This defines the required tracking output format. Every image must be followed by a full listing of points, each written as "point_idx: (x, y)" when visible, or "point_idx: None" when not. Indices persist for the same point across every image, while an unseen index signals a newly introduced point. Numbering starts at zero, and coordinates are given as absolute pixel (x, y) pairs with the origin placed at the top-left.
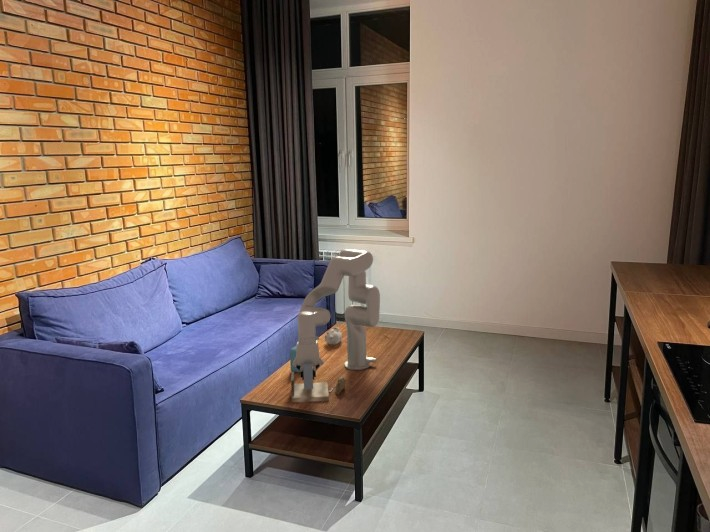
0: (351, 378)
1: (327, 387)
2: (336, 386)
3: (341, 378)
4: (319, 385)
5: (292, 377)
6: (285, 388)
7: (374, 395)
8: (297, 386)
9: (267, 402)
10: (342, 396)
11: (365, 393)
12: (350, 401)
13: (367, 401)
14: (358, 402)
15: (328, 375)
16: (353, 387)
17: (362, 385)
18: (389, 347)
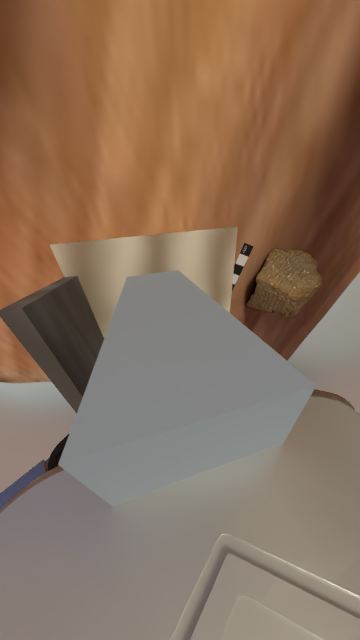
0: (349, 125)
1: (230, 288)
2: (264, 293)
3: (312, 295)
4: (201, 268)
5: (72, 395)
6: (21, 247)
7: (332, 303)
8: (96, 280)
9: (20, 374)
10: (258, 314)
11: (320, 292)
12: (269, 338)
13: (303, 334)
14: (283, 341)
15: (256, 7)
16: (310, 246)
17: (344, 228)
18: None
